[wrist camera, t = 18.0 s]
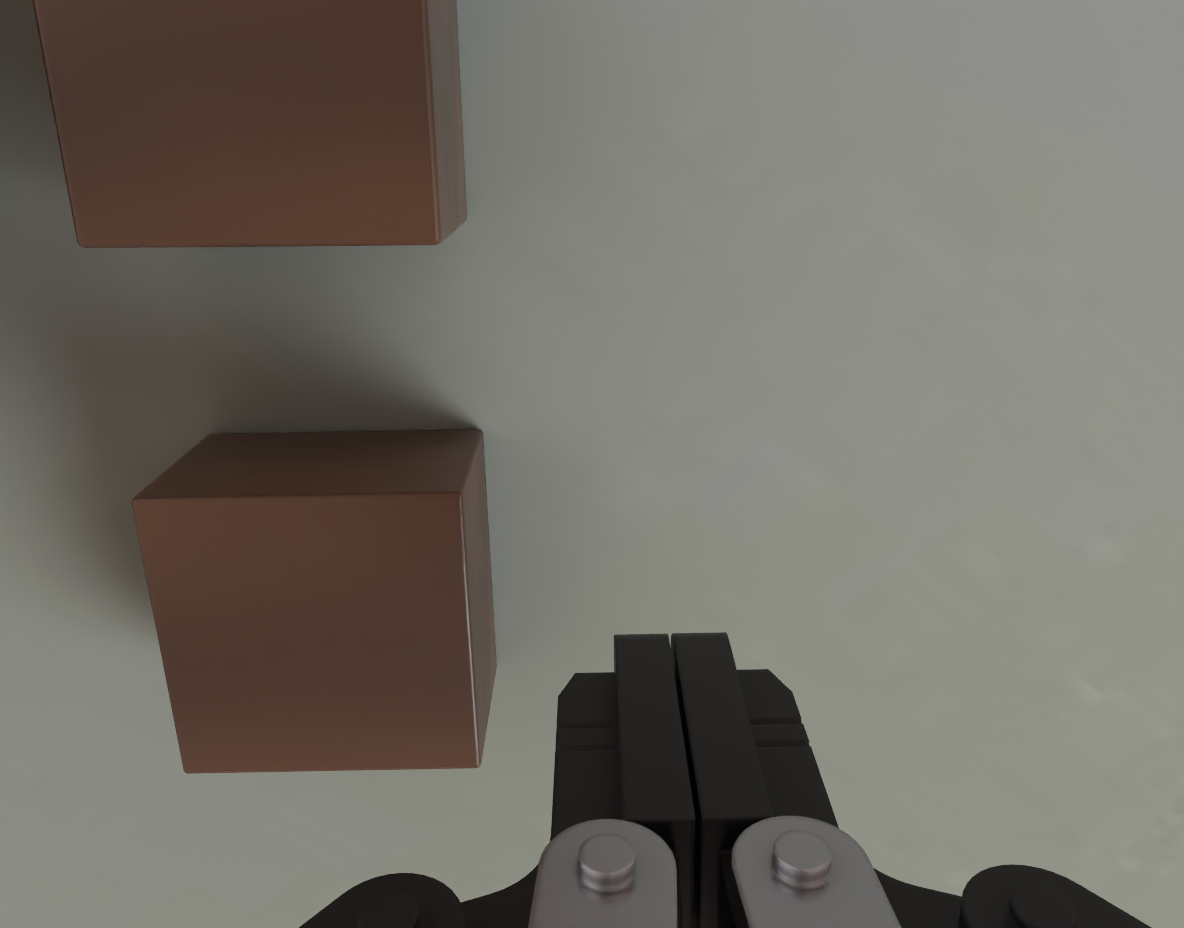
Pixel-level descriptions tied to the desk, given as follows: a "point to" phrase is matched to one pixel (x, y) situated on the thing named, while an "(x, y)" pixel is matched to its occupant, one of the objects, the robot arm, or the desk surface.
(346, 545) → the dark reddish-brown block
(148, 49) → the brown wooden block
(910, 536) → the desk surface
